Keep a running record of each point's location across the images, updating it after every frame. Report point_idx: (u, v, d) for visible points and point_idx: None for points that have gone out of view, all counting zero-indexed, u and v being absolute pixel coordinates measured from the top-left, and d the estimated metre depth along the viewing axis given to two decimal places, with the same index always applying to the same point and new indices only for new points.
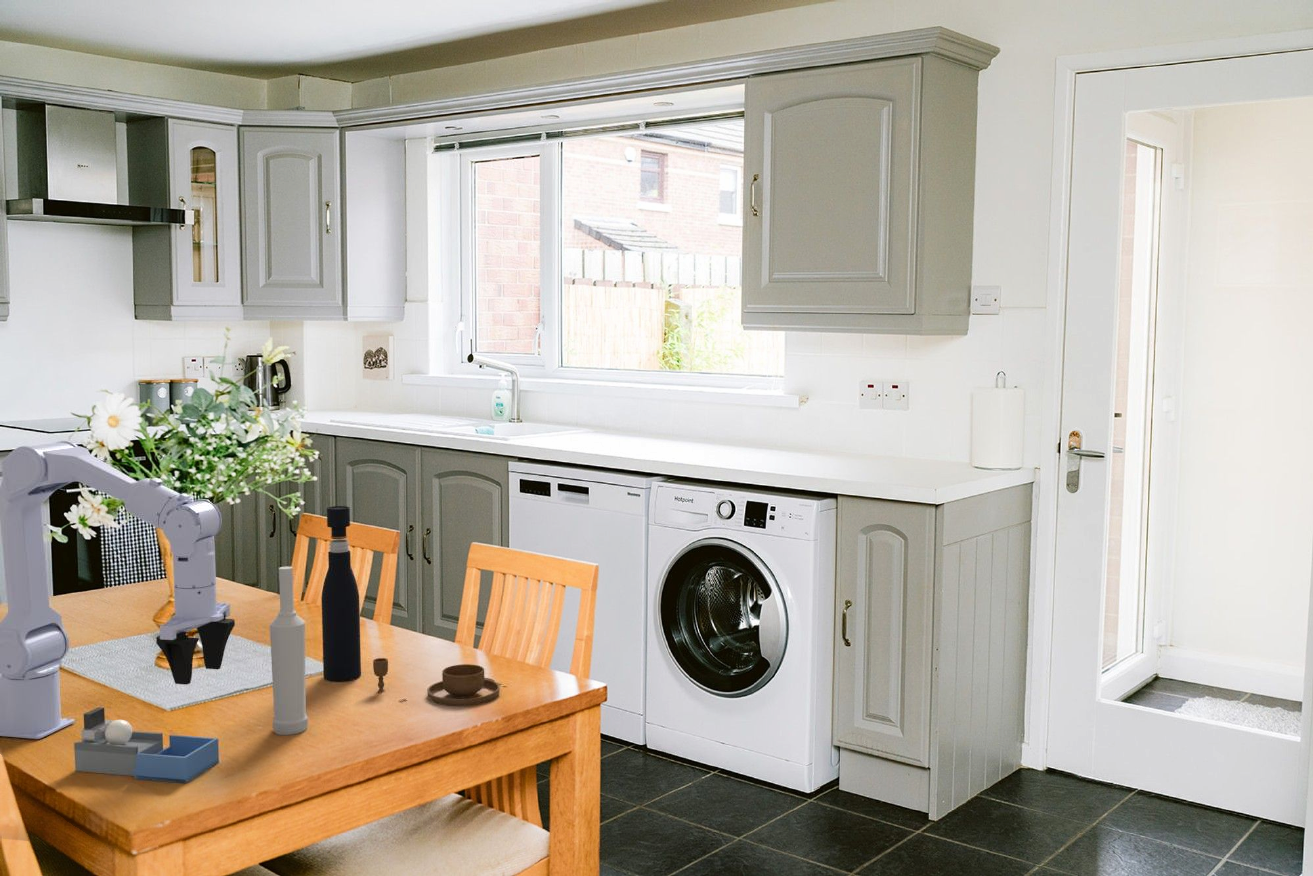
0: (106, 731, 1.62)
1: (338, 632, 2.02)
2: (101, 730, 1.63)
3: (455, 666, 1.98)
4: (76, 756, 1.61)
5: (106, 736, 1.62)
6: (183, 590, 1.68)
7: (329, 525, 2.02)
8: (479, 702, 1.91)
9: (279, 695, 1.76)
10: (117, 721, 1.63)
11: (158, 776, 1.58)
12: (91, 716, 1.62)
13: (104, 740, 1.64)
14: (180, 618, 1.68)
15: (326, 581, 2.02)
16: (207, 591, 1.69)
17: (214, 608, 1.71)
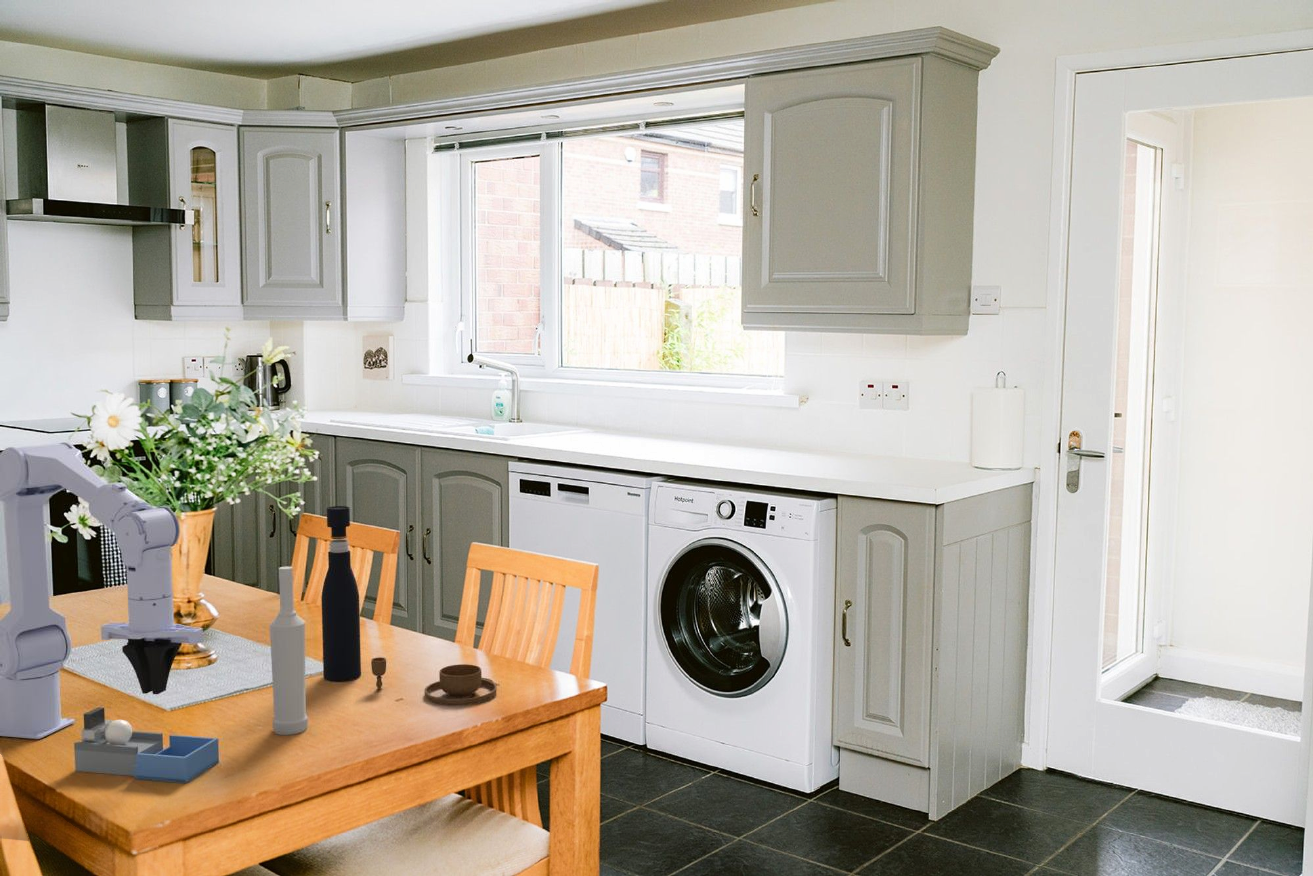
0: (106, 731, 1.62)
1: (338, 632, 2.02)
2: (101, 730, 1.63)
3: (453, 666, 1.98)
4: (76, 756, 1.61)
5: (106, 736, 1.62)
6: None
7: (329, 525, 2.02)
8: (475, 702, 1.91)
9: (279, 695, 1.76)
10: (117, 721, 1.63)
11: (158, 776, 1.58)
12: (91, 716, 1.62)
13: (104, 740, 1.64)
14: None
15: (326, 581, 2.02)
16: (131, 604, 1.60)
17: (140, 625, 1.59)
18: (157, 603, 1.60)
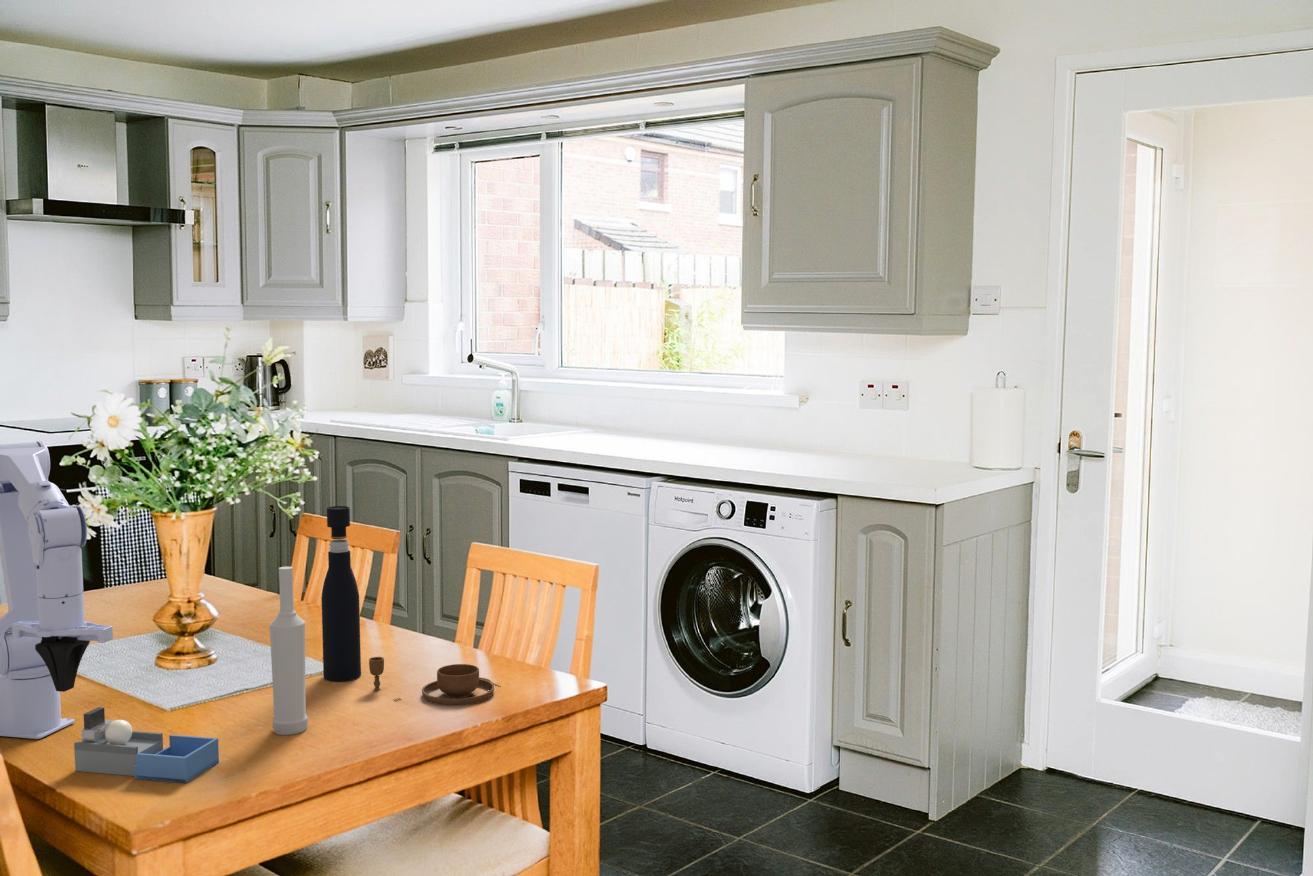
0: (106, 731, 1.62)
1: (338, 632, 2.02)
2: (101, 730, 1.63)
3: (451, 666, 1.98)
4: (76, 756, 1.61)
5: (106, 736, 1.62)
6: None
7: (329, 525, 2.02)
8: (472, 702, 1.91)
9: (279, 695, 1.76)
10: (117, 721, 1.63)
11: (158, 776, 1.58)
12: (91, 716, 1.62)
13: (104, 740, 1.64)
14: None
15: (326, 581, 2.02)
16: (40, 602, 1.61)
17: (49, 623, 1.61)
18: (66, 601, 1.61)
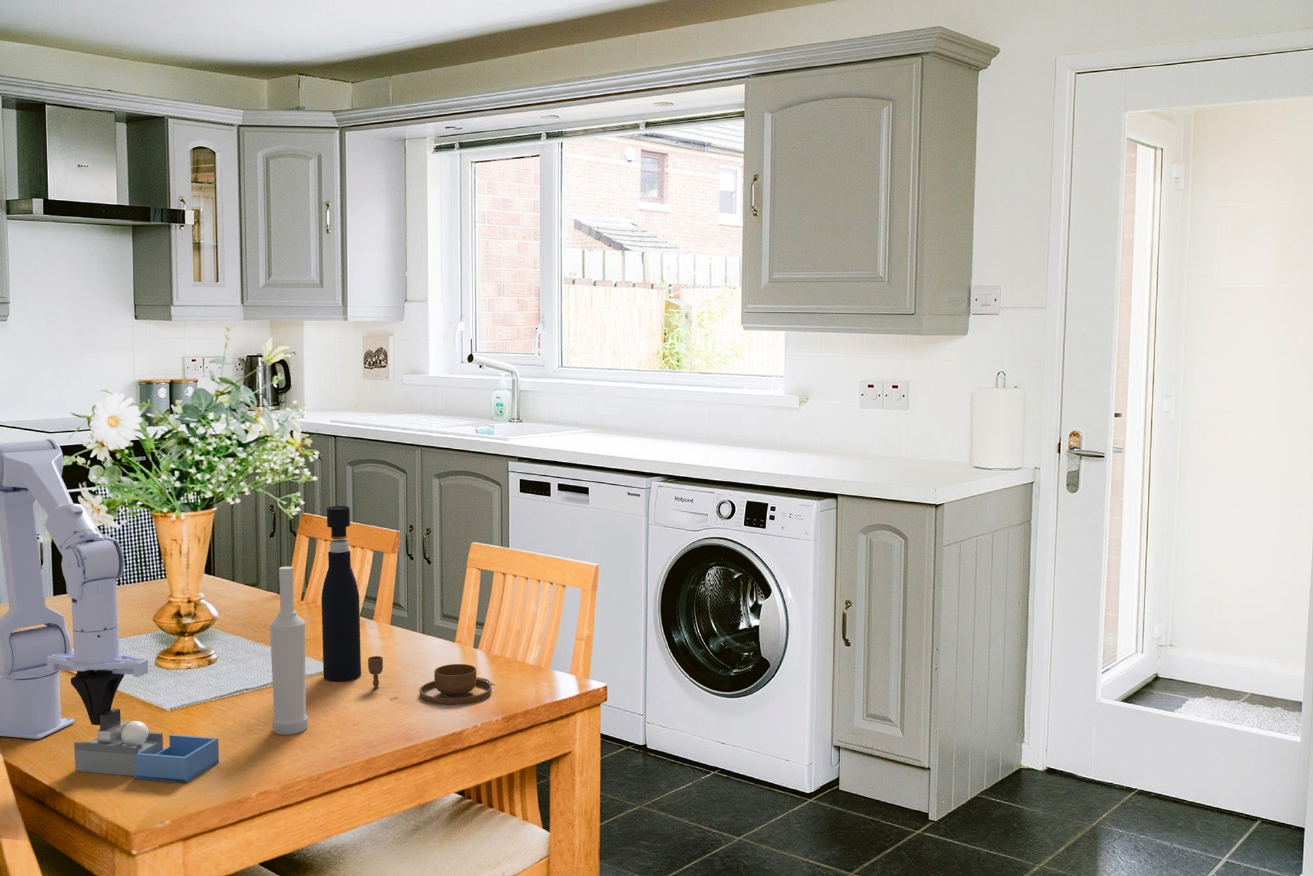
0: (130, 730, 1.61)
1: (338, 632, 2.02)
2: (117, 731, 1.63)
3: (449, 666, 1.98)
4: (76, 756, 1.61)
5: (126, 732, 1.61)
6: None
7: (329, 525, 2.02)
8: (469, 702, 1.91)
9: (279, 695, 1.76)
10: (144, 734, 1.62)
11: (158, 776, 1.58)
12: (107, 718, 1.62)
13: (120, 741, 1.63)
14: None
15: (326, 581, 2.02)
16: (76, 636, 1.60)
17: (84, 657, 1.60)
18: (102, 635, 1.60)
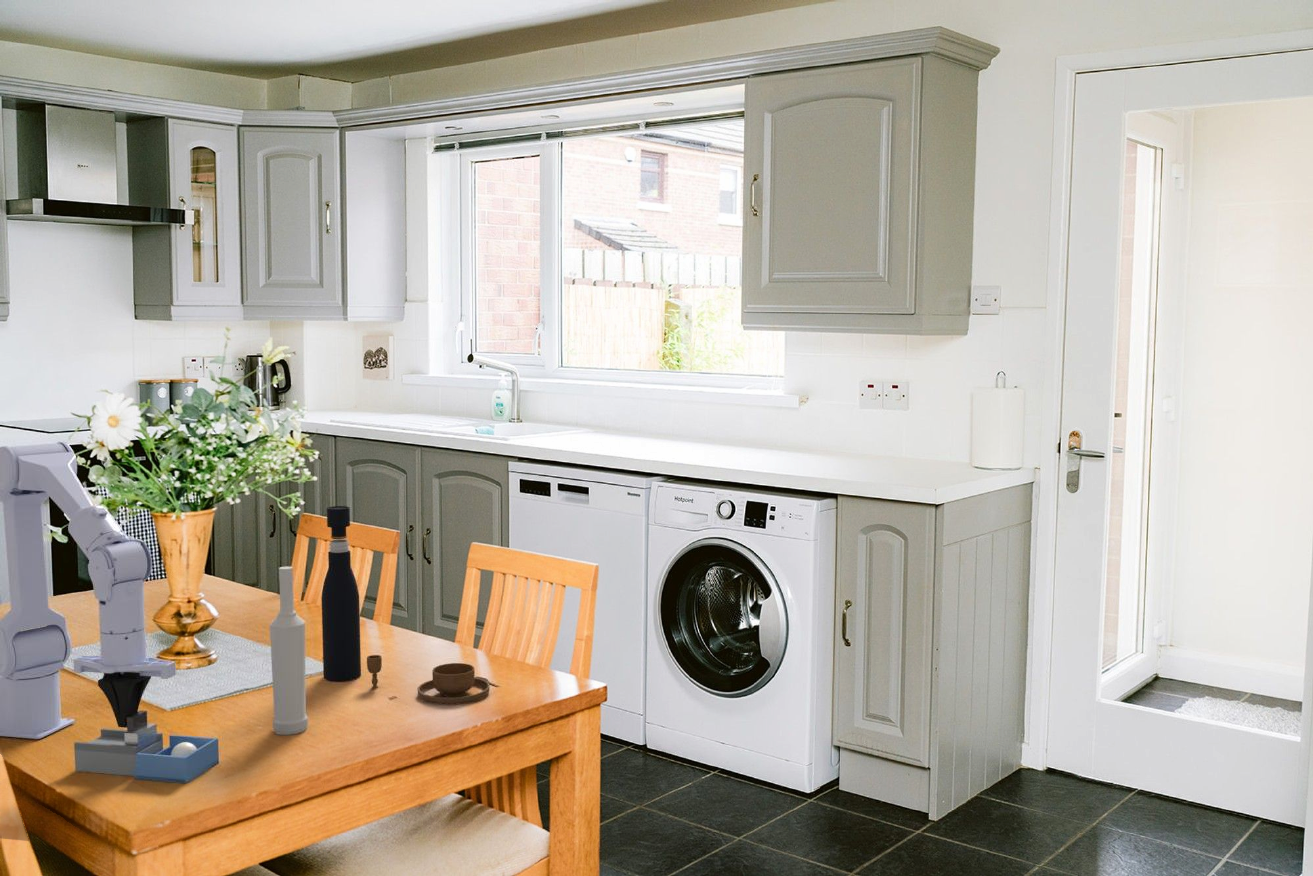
0: (173, 753, 1.60)
1: (338, 632, 2.02)
2: (144, 733, 1.62)
3: (447, 665, 1.99)
4: (76, 756, 1.61)
5: None
6: None
7: (329, 525, 2.02)
8: (466, 701, 1.91)
9: (279, 695, 1.76)
10: (185, 744, 1.61)
11: (158, 776, 1.58)
12: (134, 720, 1.61)
13: (147, 743, 1.62)
14: None
15: (326, 581, 2.02)
16: (103, 638, 1.59)
17: (112, 659, 1.59)
18: (129, 637, 1.59)
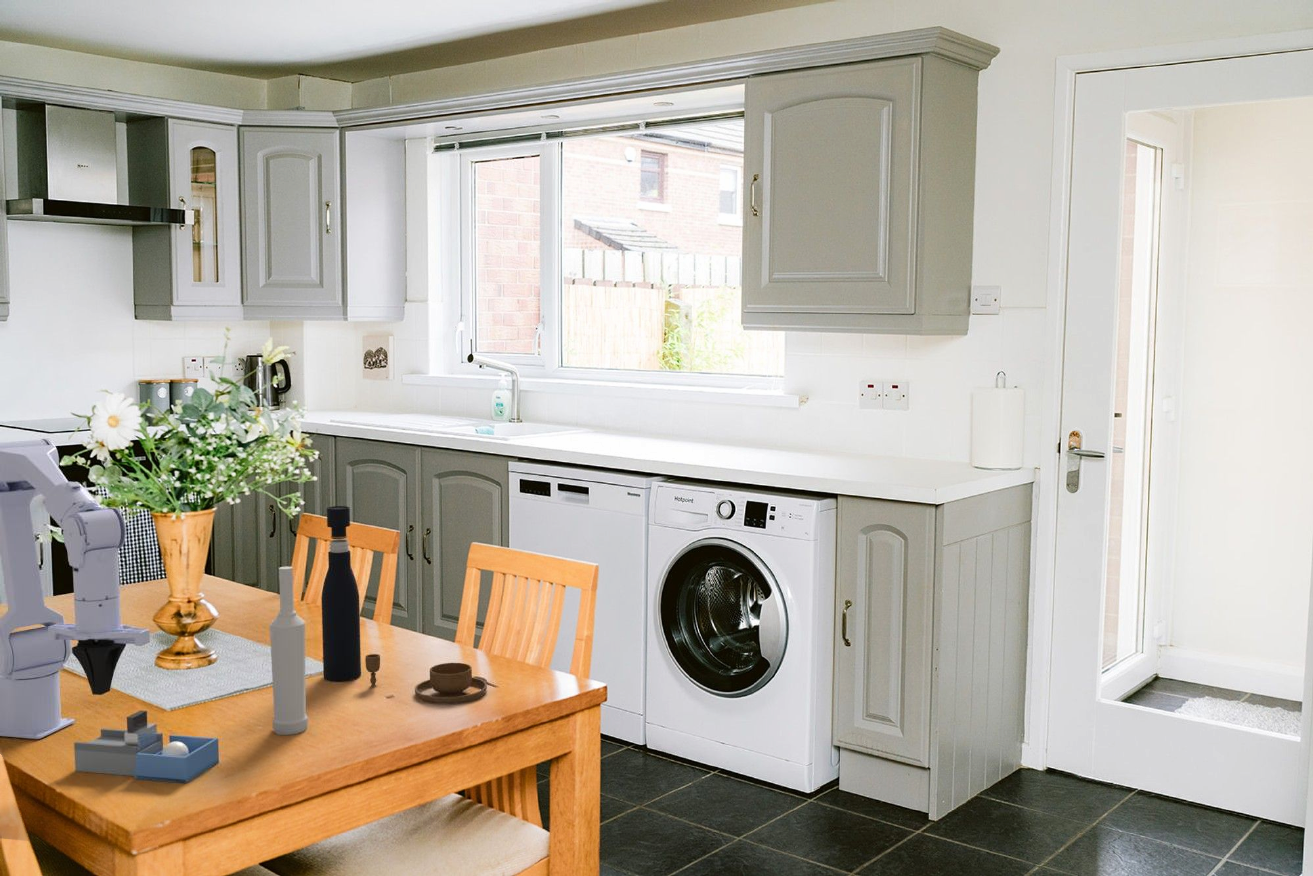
0: None
1: (338, 632, 2.02)
2: (144, 733, 1.62)
3: (445, 664, 1.99)
4: (76, 756, 1.61)
5: None
6: None
7: (329, 525, 2.02)
8: (462, 701, 1.91)
9: (279, 695, 1.76)
10: (167, 744, 1.61)
11: (158, 776, 1.58)
12: (134, 720, 1.61)
13: (147, 743, 1.62)
14: None
15: (326, 581, 2.02)
16: (77, 605, 1.60)
17: (86, 626, 1.59)
18: (103, 604, 1.60)
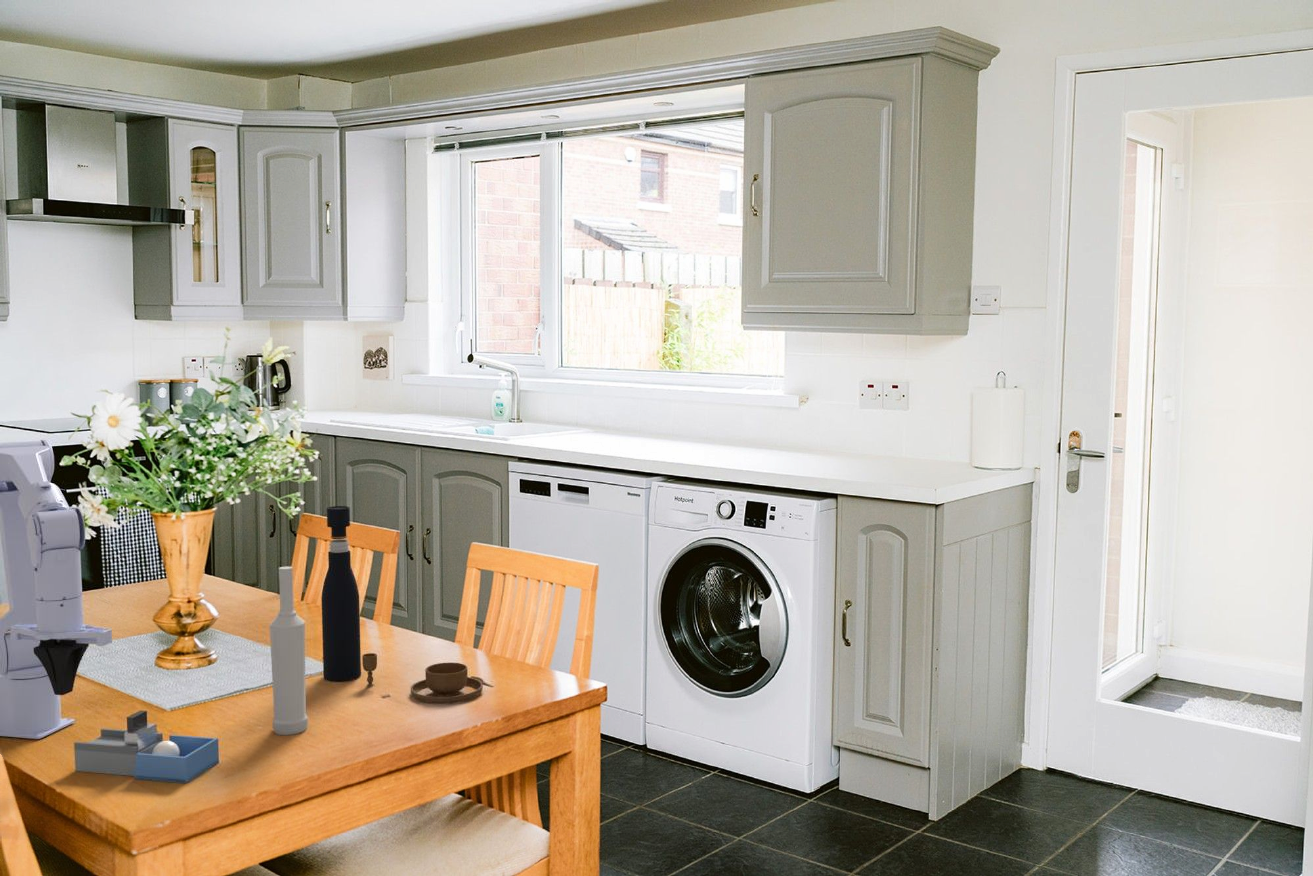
0: None
1: (338, 632, 2.02)
2: (144, 733, 1.62)
3: (441, 664, 1.99)
4: (76, 756, 1.61)
5: None
6: None
7: (329, 525, 2.02)
8: (457, 701, 1.91)
9: (279, 695, 1.76)
10: None
11: (158, 776, 1.58)
12: (134, 720, 1.61)
13: (147, 743, 1.62)
14: None
15: (326, 581, 2.02)
16: (39, 605, 1.59)
17: (47, 626, 1.59)
18: (65, 604, 1.59)
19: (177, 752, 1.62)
